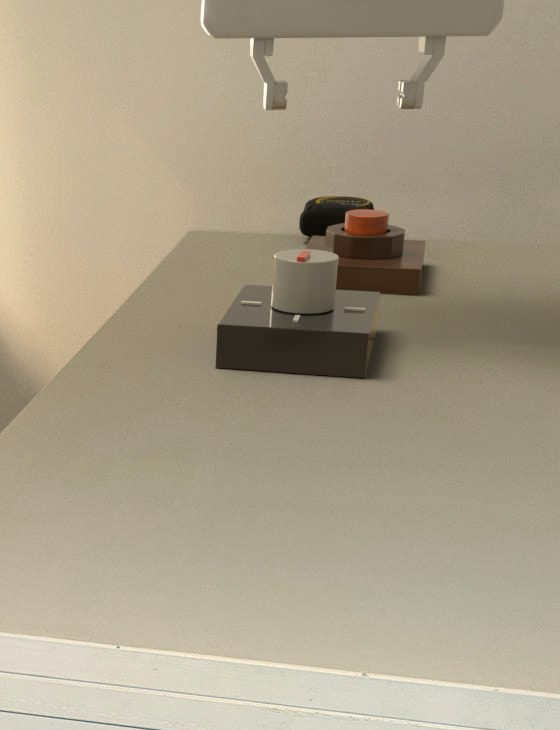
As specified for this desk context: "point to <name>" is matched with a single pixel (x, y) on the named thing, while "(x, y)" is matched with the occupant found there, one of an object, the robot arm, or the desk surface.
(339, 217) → the tape measure
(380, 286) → the switch block
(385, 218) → the power button
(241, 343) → the knob base
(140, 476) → the desk surface
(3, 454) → the desk surface
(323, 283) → the hob knob
